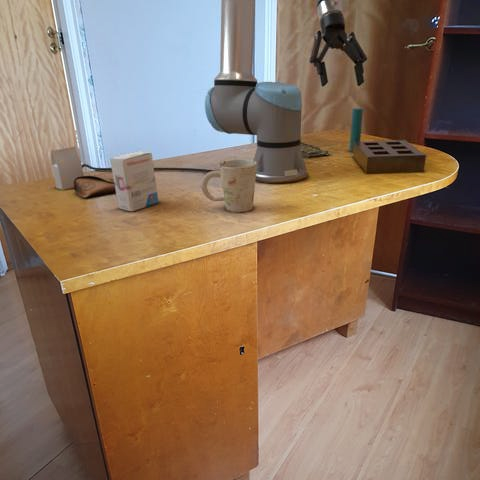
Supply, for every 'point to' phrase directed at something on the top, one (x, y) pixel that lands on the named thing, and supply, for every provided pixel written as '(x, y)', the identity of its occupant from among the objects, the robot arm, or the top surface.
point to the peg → (356, 126)
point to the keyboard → (311, 150)
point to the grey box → (66, 167)
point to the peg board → (388, 156)
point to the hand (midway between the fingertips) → (343, 84)
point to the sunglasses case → (94, 185)
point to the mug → (234, 184)
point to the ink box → (134, 180)
